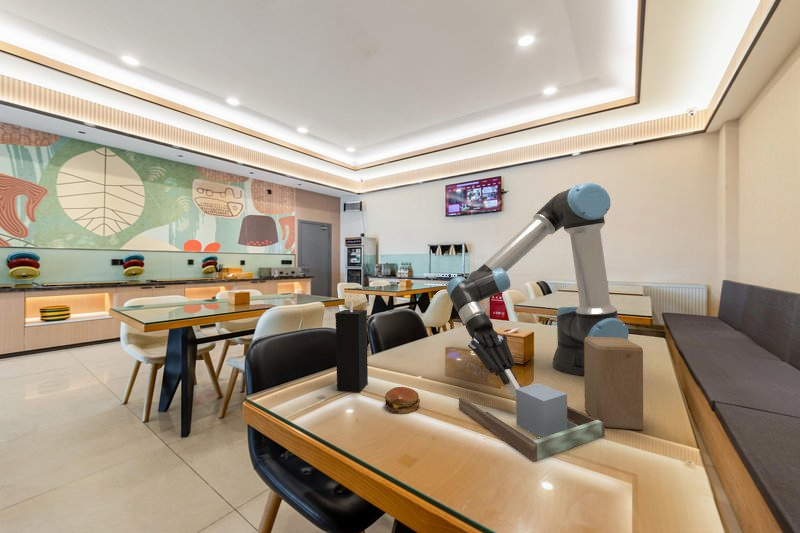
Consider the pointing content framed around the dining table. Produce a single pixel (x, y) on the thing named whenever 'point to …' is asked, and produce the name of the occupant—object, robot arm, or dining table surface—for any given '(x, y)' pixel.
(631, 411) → the wooden block
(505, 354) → the robot arm
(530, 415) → the slate block
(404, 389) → the burger
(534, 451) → the u-shaped frame
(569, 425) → the pads
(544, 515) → the dining table surface
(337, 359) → the black tall block
